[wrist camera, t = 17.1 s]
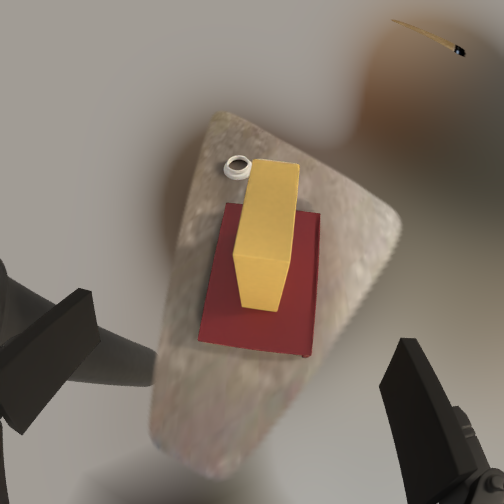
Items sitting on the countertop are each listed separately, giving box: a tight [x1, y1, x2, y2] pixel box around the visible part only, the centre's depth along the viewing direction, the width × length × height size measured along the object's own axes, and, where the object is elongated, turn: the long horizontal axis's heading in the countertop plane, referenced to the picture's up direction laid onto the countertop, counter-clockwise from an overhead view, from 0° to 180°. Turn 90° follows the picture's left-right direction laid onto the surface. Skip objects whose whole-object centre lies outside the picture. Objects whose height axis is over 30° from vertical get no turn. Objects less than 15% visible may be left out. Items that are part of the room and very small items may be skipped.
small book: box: [233, 159, 300, 312], centre depth 25 cm, size 4×8×12 cm, turn 171°
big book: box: [198, 203, 320, 358], centre depth 32 cm, size 16×11×4 cm
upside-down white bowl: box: [224, 155, 252, 180], centre depth 39 cm, size 5×3×5 cm
